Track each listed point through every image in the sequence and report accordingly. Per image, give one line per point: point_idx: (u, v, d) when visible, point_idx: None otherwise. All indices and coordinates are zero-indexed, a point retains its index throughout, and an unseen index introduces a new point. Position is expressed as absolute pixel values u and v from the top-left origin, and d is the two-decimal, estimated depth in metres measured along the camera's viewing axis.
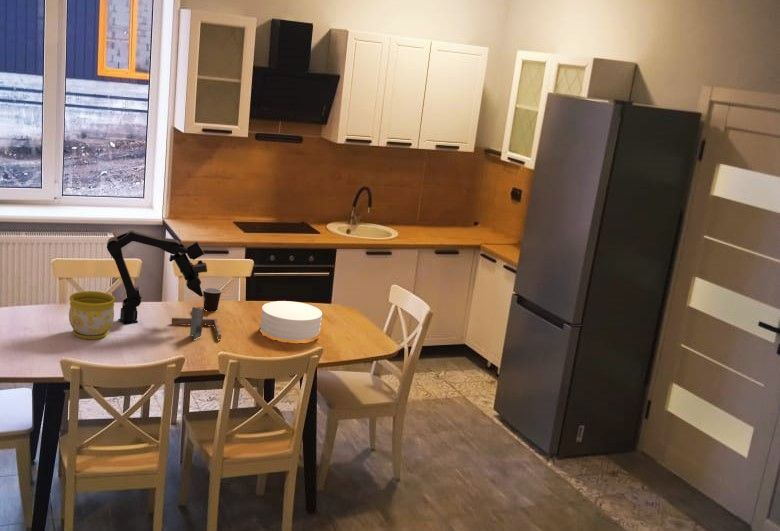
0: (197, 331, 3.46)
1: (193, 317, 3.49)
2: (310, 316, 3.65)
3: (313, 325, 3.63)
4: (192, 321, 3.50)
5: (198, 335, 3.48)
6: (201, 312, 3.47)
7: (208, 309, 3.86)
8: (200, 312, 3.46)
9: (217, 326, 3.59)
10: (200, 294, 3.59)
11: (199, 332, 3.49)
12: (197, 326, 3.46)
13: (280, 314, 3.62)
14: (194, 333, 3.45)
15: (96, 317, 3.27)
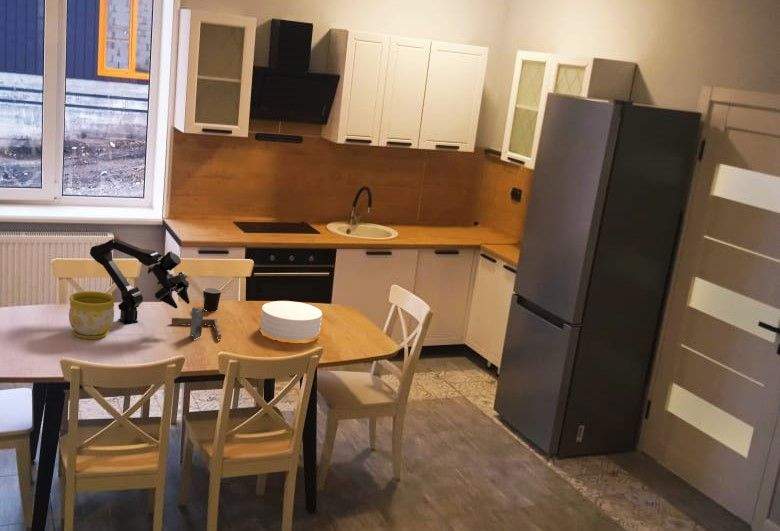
0: (197, 331, 3.46)
1: (193, 317, 3.49)
2: (310, 316, 3.65)
3: (313, 325, 3.63)
4: (192, 321, 3.50)
5: (198, 335, 3.48)
6: (201, 312, 3.47)
7: (208, 309, 3.86)
8: (200, 312, 3.46)
9: (217, 326, 3.59)
10: (174, 306, 3.43)
11: (199, 332, 3.49)
12: (197, 326, 3.46)
13: (280, 314, 3.62)
14: (194, 333, 3.45)
15: (96, 317, 3.27)
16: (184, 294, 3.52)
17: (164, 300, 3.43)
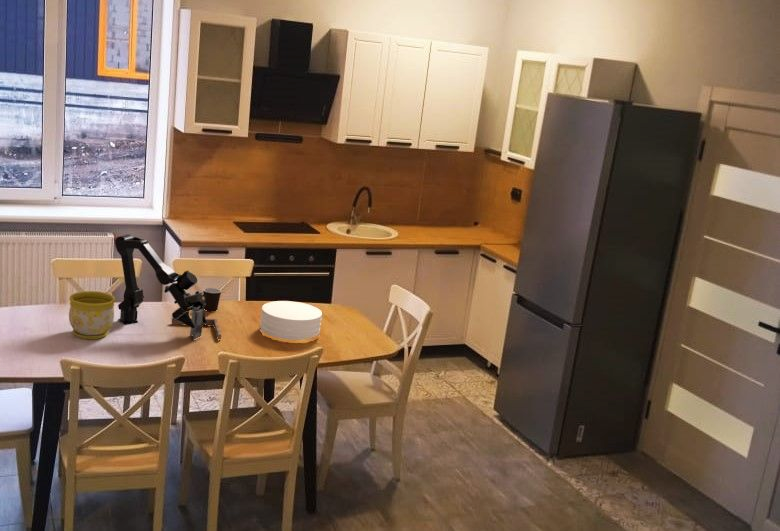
0: (197, 331, 3.46)
1: (193, 317, 3.49)
2: (310, 316, 3.65)
3: (313, 325, 3.63)
4: (192, 321, 3.49)
5: (198, 335, 3.48)
6: (201, 312, 3.47)
7: (208, 309, 3.86)
8: (201, 312, 3.46)
9: (217, 326, 3.59)
10: (191, 325, 3.42)
11: (199, 332, 3.49)
12: (197, 326, 3.46)
13: (280, 314, 3.62)
14: (194, 333, 3.45)
15: (96, 317, 3.27)
16: None
17: (181, 320, 3.42)
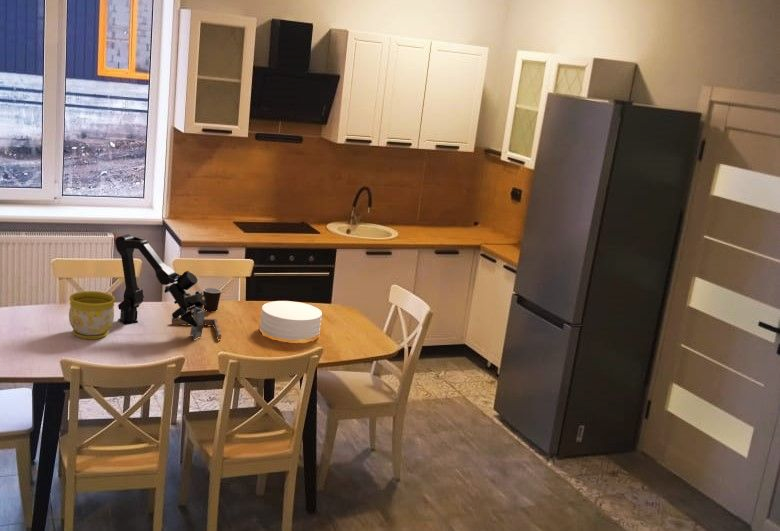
0: (197, 331, 3.46)
1: (194, 317, 3.49)
2: (309, 316, 3.65)
3: (313, 325, 3.63)
4: None
5: (198, 335, 3.48)
6: (203, 313, 3.46)
7: (208, 309, 3.86)
8: (202, 312, 3.46)
9: (217, 326, 3.59)
10: (193, 324, 3.44)
11: (199, 332, 3.49)
12: (198, 326, 3.46)
13: (280, 314, 3.62)
14: (195, 333, 3.45)
15: (96, 317, 3.27)
16: None
17: (184, 319, 3.43)
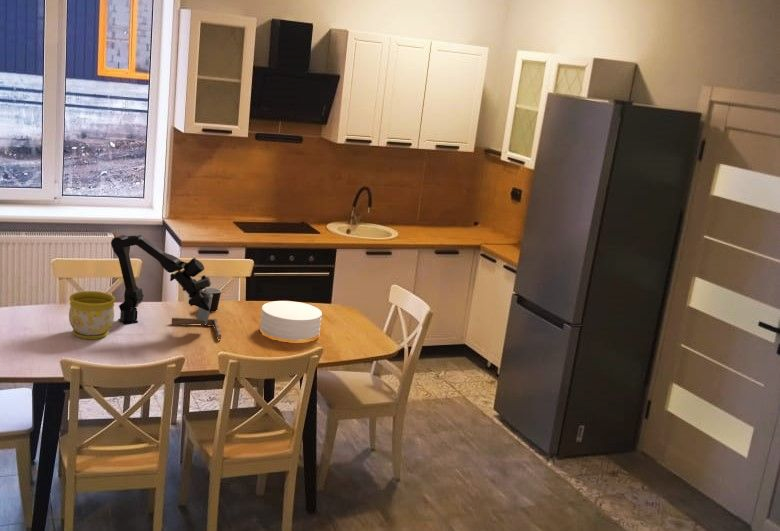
0: (208, 315, 3.55)
1: None
2: (309, 316, 3.65)
3: (313, 325, 3.63)
4: None
5: None
6: (212, 296, 3.55)
7: None
8: (212, 296, 3.54)
9: (217, 326, 3.59)
10: (206, 308, 3.52)
11: (208, 315, 3.57)
12: (209, 310, 3.54)
13: (280, 314, 3.62)
14: (207, 317, 3.54)
15: (96, 317, 3.27)
16: None
17: (197, 304, 3.50)
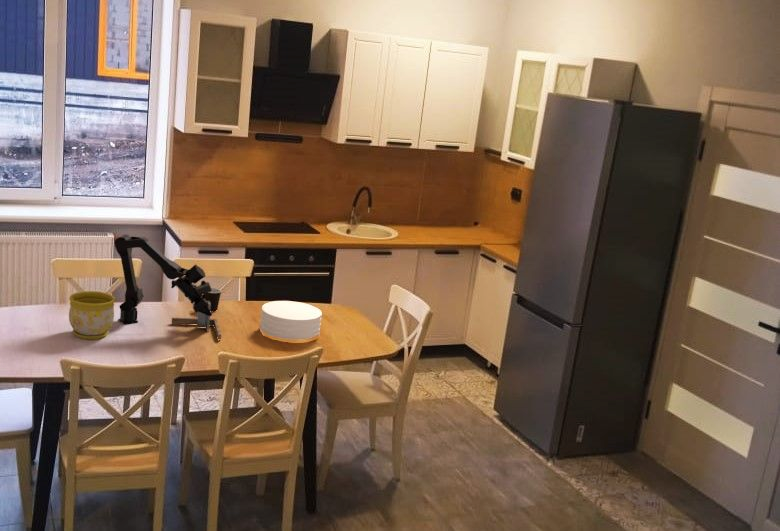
0: None
1: None
2: (309, 316, 3.65)
3: (313, 325, 3.64)
4: (199, 314, 3.60)
5: None
6: None
7: None
8: None
9: (217, 326, 3.59)
10: (209, 314, 3.56)
11: None
12: (209, 317, 3.59)
13: (280, 314, 3.62)
14: (208, 324, 3.59)
15: (96, 317, 3.27)
16: None
17: (200, 310, 3.53)
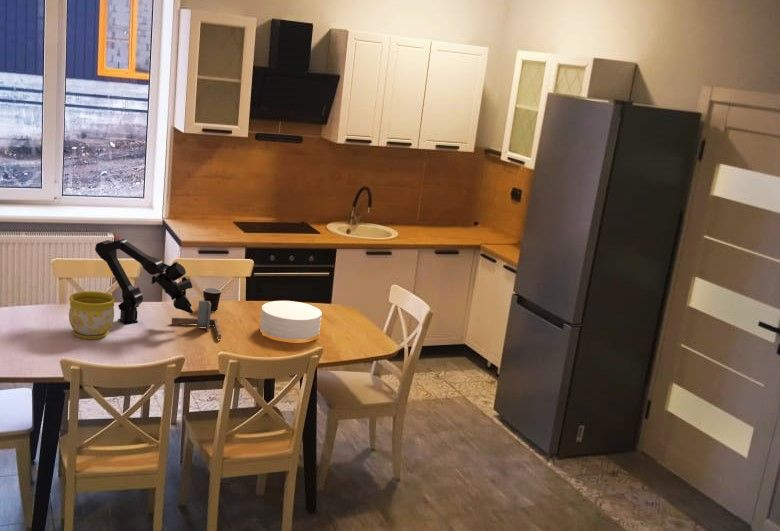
0: None
1: (200, 310, 3.60)
2: (309, 316, 3.65)
3: (313, 325, 3.64)
4: (199, 314, 3.60)
5: None
6: None
7: None
8: (210, 303, 3.59)
9: (217, 326, 3.59)
10: (190, 311, 3.52)
11: None
12: (209, 317, 3.59)
13: (280, 314, 3.62)
14: (208, 324, 3.59)
15: (96, 317, 3.27)
16: None
17: (181, 308, 3.49)
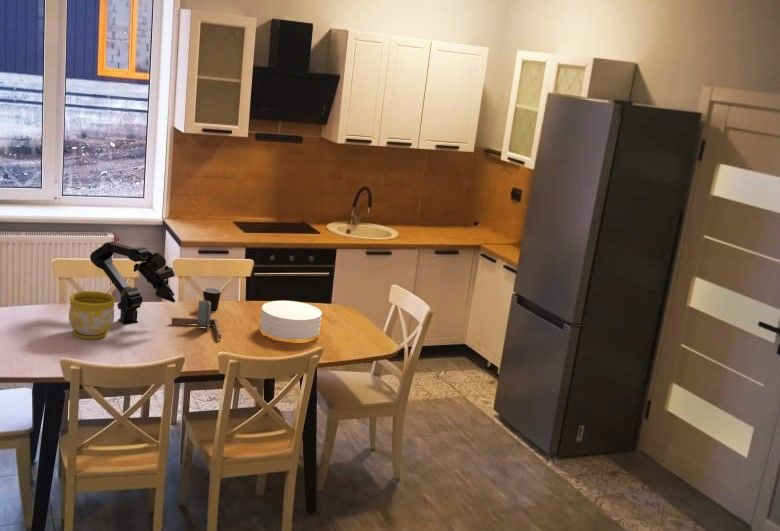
0: None
1: (200, 310, 3.60)
2: (309, 316, 3.65)
3: (313, 325, 3.64)
4: (199, 314, 3.60)
5: None
6: None
7: None
8: (210, 303, 3.59)
9: (217, 326, 3.59)
10: (172, 300, 3.50)
11: None
12: (209, 317, 3.59)
13: (280, 314, 3.62)
14: (208, 324, 3.59)
15: (96, 317, 3.27)
16: None
17: (162, 296, 3.47)
